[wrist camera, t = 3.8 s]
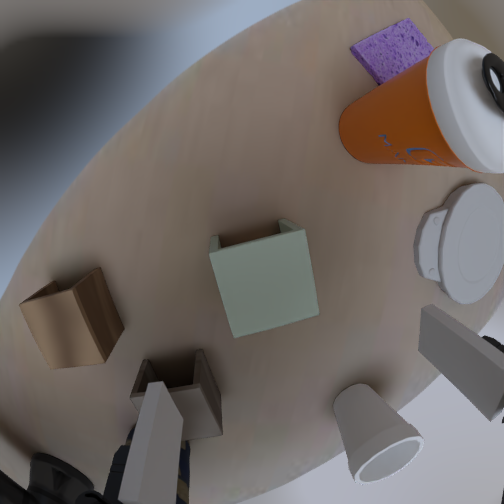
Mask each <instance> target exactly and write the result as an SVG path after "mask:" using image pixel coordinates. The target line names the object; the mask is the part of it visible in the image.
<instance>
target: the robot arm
mask: <svg viewBox="0 0 504 504" xmlns="http://www.w3.org/2000/svg"><path fill="white" fill-rule="evenodd" d="M418 351H419V352H420V353H421V354H422V355H423V356H424V357H425V358H426V359H428V360H429V361H430V362H431V363H432V364H433V365H434V366H435V367H436V368H437V369H438V370H439V371H440V372H441V373H442V374H443V375H444V376H445V377H446V378H447V379H448V380H449V381H450V382H451V383H452V384H453V385H454V386H456V388H457V389H459V390H460V391H461V392H462V393H463V394H464V395H465V396H466V397H467V398H468V399H469V400H470V401H471V402H472V403H473V404H474V405H475V406H476V408H478V410H480V412H481V413H482V414H483V415H484V416H485V417H486V418H487V419H488V420H489V421H490V422H491V421H492V420H493V419H494V418H495V417H497V416H498V415H499V414H500V413H501V412H502V409H503V408H504V345H501V343H500V342H498V341H497V340H495V339H494V338H491V337H488V336H483V337H480V336H479V335H477V334H476V333H475V332H473V331H472V330H470V329H469V328H467V327H466V326H464V325H463V324H462V323H460V322H459V321H457V320H456V319H454V318H453V317H451V316H450V315H448V314H447V313H445V312H444V311H442V310H441V309H439V308H438V307H436V306H435V305H433V304H430V305H428V306H425V307H423V308H421V321H420V335H419V346H418ZM502 423H504V417H503V419H502ZM182 427H183V418H182V416H181V414H180V412H179V411H178V409H177V407H176V405H175V403H174V401H173V400H172V398H171V396H170V394H169V392H168V390H167V388H166V386H165V384H164V382H163V381H161V382H153V383H148V386H147V390H146V393H145V396H144V400H143V403H142V407H141V410H140V414H139V417H138V421H137V424H136V428H135V431H134V435H133V439H132V443H131V445H121V446H120V448H119V449H118V450H117V452H116V453H115V455H114V458H113V461H112V465H111V468H110V473H109V476H108V479H107V483H106V487H105V490H104V494H103V495H102V494H100V493H99V492H96V491H93V490H94V486H93V484H92V483H91V482H90V480H89V479H88V478H87V477H85V476H84V475H83V474H82V473H80V472H79V471H78V470H76V469H75V468H73V467H71V466H70V465H68V464H66V463H64V462H63V461H61V460H59V459H57V458H54V457H52V456H49V455H46V454H42V453H36V454H34V455H33V457H32V459H31V462H30V467H31V468H30V481H29V486H28V488H27V491H26V490H25V489H24V488H22V487H21V486H20V485H19V484H17V483H16V482H15V481H13V480H12V479H11V478H10V477H8V476H7V475H6V474H5V473H4V472H2V471H1V470H0V504H176V492H177V479H178V467H179V456H180V446H181V436H182ZM501 504H504V491H503V497H502V503H501Z"/></svg>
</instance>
